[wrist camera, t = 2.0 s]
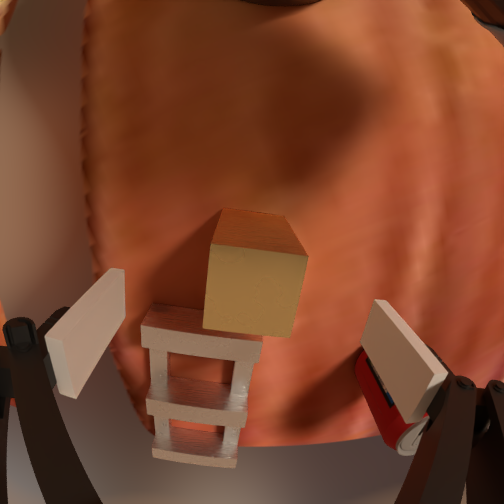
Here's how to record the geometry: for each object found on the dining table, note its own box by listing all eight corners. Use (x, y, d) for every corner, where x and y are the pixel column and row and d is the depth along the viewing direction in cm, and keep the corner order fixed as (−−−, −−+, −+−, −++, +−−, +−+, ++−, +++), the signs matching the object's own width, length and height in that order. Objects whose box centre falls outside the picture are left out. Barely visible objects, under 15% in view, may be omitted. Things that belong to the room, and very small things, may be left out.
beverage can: (416, 333, 30) (472, 404, 18) (393, 380, 32) (433, 454, 20) (364, 329, 29) (414, 413, 18) (343, 380, 31) (375, 464, 20)
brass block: (223, 207, 25) (210, 243, 15) (284, 216, 25) (308, 256, 16) (216, 265, 26) (202, 328, 17) (274, 272, 27) (289, 337, 17)
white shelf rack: (152, 302, 27) (140, 325, 24) (260, 317, 28) (262, 341, 24) (158, 434, 34) (153, 457, 30) (235, 444, 34) (235, 468, 31)
